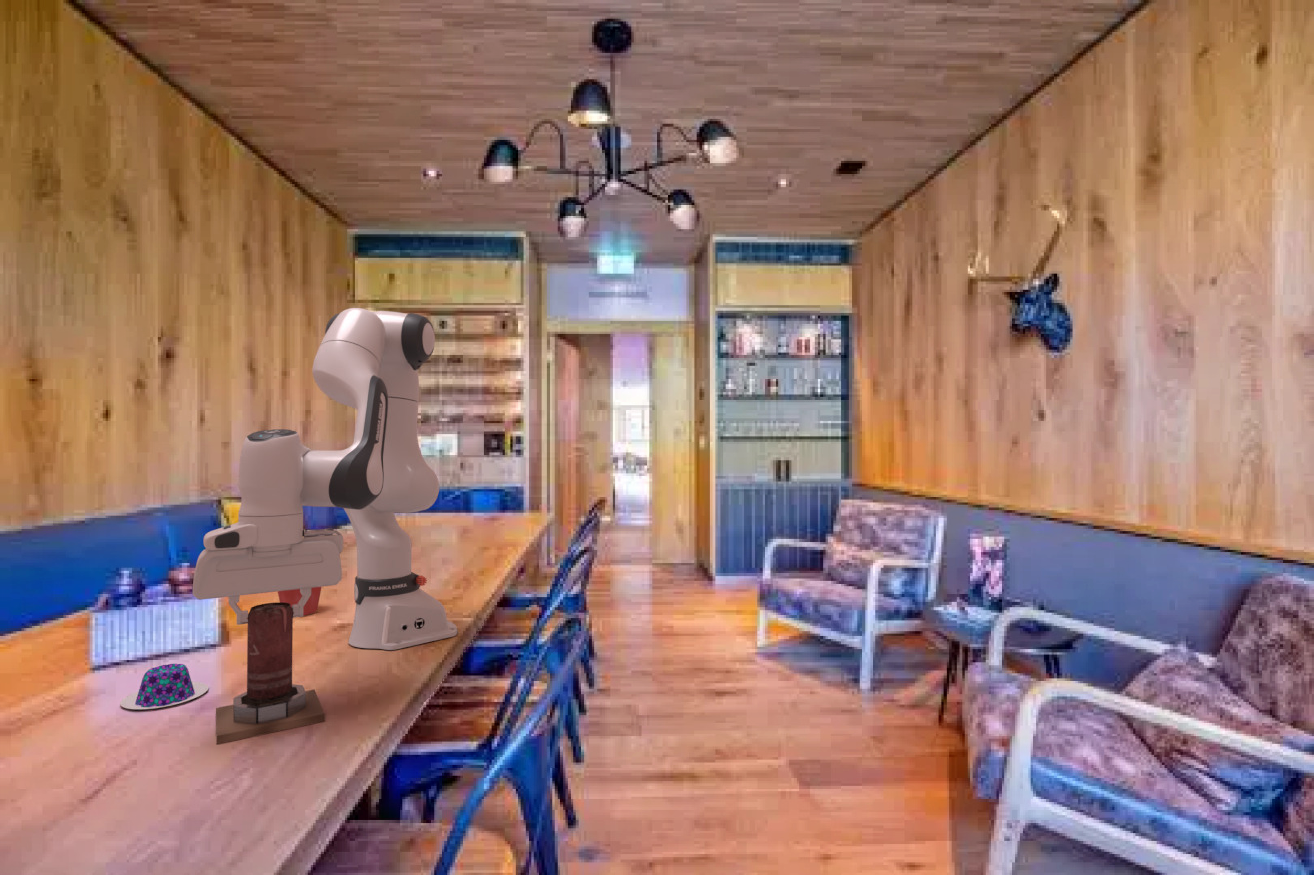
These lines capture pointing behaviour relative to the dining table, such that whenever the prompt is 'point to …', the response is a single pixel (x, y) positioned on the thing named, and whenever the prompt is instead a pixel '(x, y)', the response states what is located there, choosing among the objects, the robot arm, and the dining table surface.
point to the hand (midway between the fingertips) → (270, 619)
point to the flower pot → (295, 596)
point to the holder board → (236, 731)
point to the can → (269, 651)
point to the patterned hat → (164, 688)
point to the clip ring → (268, 707)
